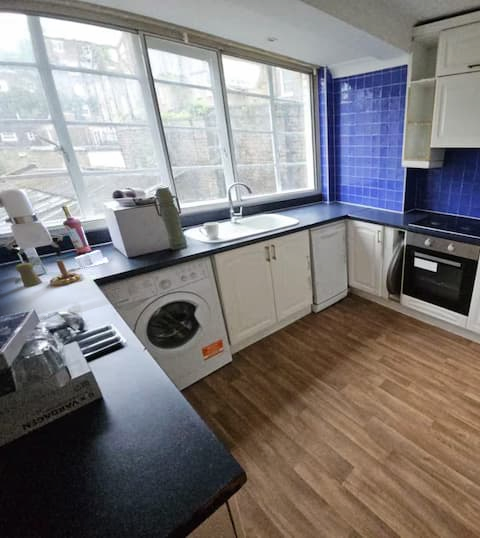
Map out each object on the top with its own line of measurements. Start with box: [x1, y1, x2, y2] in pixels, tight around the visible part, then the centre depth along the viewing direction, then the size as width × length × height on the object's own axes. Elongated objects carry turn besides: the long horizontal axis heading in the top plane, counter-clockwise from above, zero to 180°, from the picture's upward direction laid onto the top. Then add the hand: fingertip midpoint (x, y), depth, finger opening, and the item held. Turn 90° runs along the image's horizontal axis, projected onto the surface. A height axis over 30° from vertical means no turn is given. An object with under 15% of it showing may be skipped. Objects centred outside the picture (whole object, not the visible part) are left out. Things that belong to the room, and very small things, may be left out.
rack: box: [54, 259, 83, 288], centre depth 133 cm, size 9×9×11 cm
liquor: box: [61, 204, 92, 255], centre depth 169 cm, size 7×7×28 cm
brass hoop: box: [49, 272, 81, 286], centre depth 134 cm, size 10×10×2 cm
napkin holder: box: [74, 249, 110, 269], centre depth 156 cm, size 15×11×6 cm
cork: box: [14, 262, 43, 288], centre depth 131 cm, size 6×6×11 cm
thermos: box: [152, 187, 188, 251], centre depth 172 cm, size 9×12×35 cm
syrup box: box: [15, 246, 47, 277], centre depth 143 cm, size 6×6×14 cm
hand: (44, 258), depth 127 cm, fingers open, 9 cm apart
